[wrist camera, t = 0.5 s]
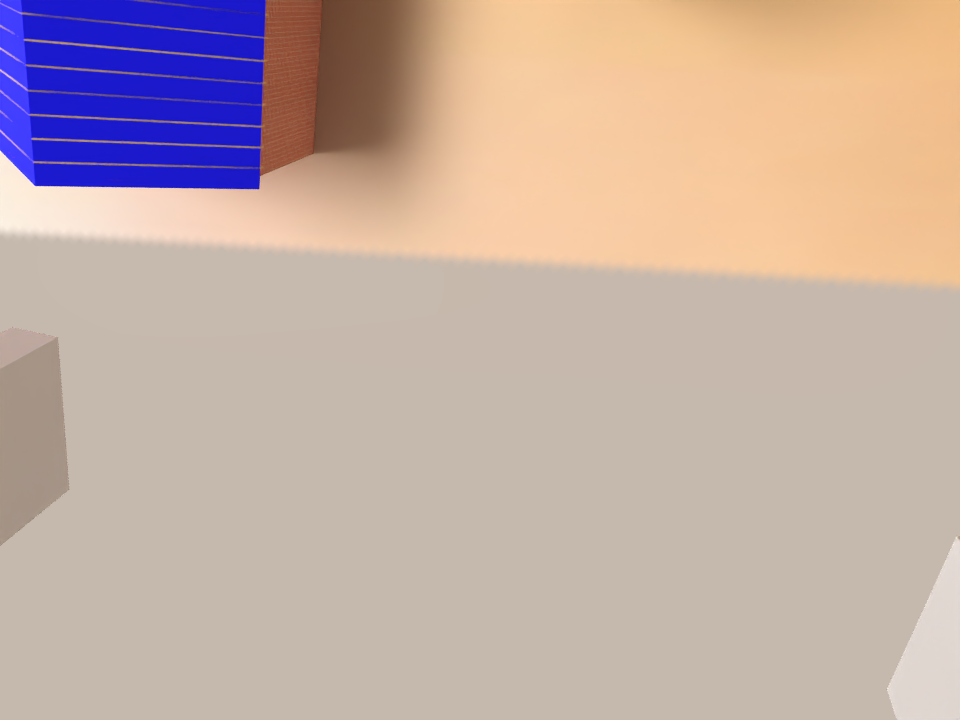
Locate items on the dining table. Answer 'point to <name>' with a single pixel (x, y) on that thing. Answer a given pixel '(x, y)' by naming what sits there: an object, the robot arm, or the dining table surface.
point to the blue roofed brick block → (157, 90)
